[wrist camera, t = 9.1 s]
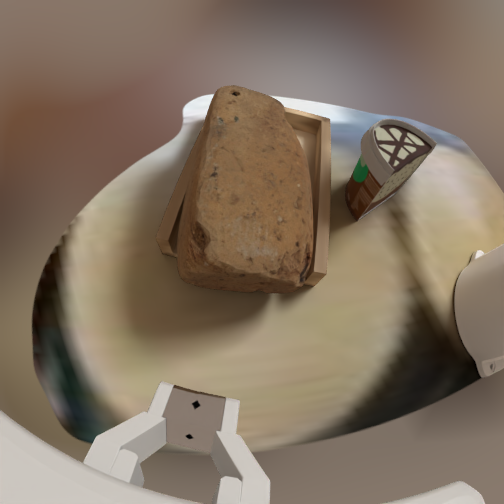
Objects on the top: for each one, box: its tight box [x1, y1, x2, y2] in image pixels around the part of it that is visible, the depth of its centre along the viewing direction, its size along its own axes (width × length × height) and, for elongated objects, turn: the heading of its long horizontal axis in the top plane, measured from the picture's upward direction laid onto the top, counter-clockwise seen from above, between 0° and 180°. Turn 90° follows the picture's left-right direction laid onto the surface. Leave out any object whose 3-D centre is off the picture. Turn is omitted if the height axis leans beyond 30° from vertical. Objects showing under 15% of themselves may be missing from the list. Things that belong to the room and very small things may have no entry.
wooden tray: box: [156, 107, 331, 286], centre depth 30 cm, size 15×22×4 cm
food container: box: [345, 119, 437, 221], centre depth 29 cm, size 12×6×10 cm, turn 125°
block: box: [177, 85, 313, 293], centre depth 25 cm, size 11×8×20 cm
